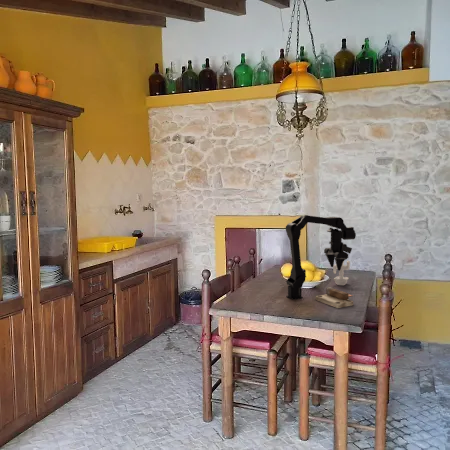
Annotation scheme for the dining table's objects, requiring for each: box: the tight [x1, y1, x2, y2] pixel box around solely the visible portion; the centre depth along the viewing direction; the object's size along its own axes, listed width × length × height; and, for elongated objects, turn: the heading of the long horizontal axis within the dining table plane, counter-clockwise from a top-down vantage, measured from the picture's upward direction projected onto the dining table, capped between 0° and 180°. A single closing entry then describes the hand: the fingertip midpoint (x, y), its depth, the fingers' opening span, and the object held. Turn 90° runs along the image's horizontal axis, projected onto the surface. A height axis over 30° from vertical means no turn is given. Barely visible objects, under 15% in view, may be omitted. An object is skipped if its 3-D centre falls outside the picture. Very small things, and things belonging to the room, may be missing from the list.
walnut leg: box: [325, 286, 350, 300], centre depth 223 cm, size 14×4×3 cm, turn 25°
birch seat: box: [315, 293, 354, 309], centre depth 221 cm, size 10×17×2 cm, turn 25°
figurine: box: [332, 260, 351, 286], centre depth 257 cm, size 7×9×15 cm
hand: (335, 268), depth 236 cm, fingers open, 9 cm apart
